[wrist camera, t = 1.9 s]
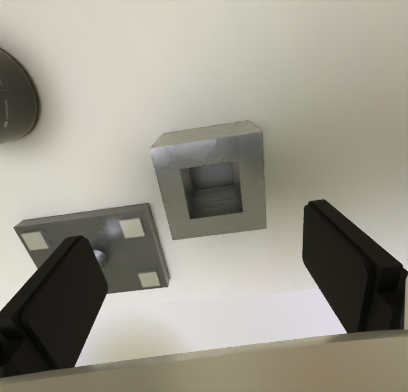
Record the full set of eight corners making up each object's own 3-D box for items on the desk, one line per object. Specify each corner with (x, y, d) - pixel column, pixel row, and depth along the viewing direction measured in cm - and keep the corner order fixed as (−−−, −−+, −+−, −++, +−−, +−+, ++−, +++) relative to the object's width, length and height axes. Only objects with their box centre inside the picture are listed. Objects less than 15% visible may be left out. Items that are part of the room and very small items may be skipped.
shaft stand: (148, 203, 21) (127, 246, 15) (169, 278, 24) (159, 334, 19) (22, 220, 21) (-42, 267, 16) (62, 290, 25) (21, 348, 20)
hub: (247, 120, 18) (262, 131, 13) (252, 197, 20) (266, 228, 16) (163, 133, 18) (149, 148, 13) (179, 207, 21) (172, 240, 16)
